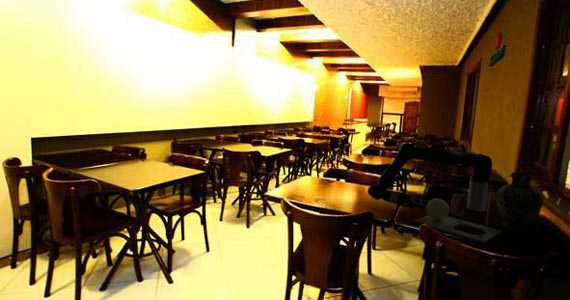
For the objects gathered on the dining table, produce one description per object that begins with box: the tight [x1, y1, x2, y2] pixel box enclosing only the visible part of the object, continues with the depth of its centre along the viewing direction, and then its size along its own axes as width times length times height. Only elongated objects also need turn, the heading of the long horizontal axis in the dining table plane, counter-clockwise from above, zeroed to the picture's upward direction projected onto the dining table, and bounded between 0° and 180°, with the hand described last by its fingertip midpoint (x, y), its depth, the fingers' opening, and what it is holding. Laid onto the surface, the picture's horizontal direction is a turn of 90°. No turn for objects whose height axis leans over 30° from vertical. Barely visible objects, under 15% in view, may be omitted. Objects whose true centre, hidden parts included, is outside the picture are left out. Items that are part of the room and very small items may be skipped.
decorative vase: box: [495, 171, 544, 232], centre depth 159 cm, size 21×19×28 cm
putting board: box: [414, 191, 503, 243], centre depth 156 cm, size 32×22×19 cm
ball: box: [425, 198, 450, 220], centre depth 164 cm, size 11×11×11 cm
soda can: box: [450, 192, 467, 218], centre depth 176 cm, size 7×7×12 cm
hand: (428, 206), depth 168 cm, fingers open, 8 cm apart
